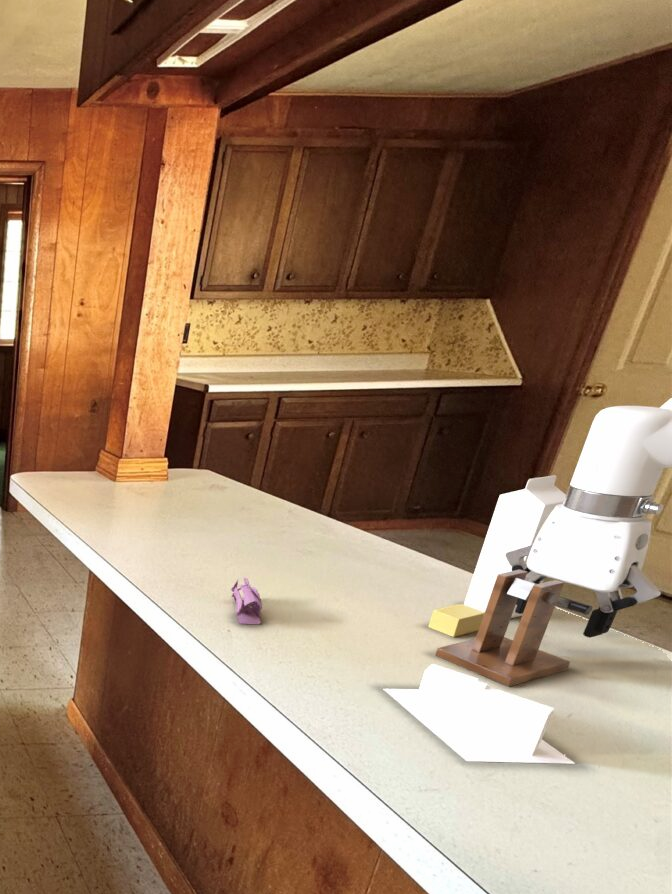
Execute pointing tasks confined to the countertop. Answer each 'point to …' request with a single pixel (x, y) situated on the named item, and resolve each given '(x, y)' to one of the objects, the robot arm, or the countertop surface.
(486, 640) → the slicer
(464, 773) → the countertop surface
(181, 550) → the countertop surface
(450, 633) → the butter
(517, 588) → the lever
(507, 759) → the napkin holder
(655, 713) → the countertop surface
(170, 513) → the countertop surface
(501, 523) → the milk
